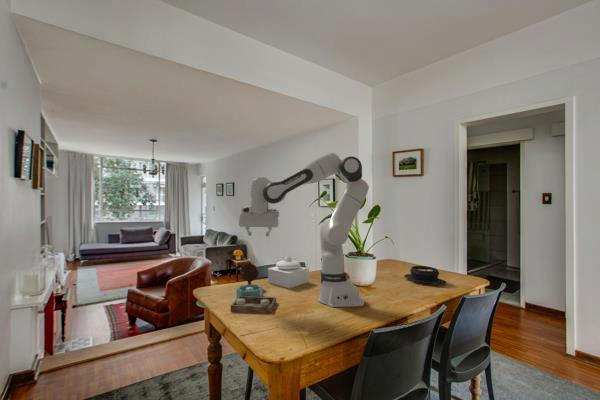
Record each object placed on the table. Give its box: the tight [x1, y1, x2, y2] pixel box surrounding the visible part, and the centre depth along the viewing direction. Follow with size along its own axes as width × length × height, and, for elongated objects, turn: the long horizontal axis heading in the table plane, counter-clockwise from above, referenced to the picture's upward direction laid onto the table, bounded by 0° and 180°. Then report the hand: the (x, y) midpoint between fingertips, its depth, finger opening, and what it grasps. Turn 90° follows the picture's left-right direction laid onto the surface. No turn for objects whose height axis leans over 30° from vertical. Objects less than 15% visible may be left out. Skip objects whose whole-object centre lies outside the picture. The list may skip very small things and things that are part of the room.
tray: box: [230, 296, 277, 314], centre depth 131 cm, size 18×13×3 cm
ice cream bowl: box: [239, 261, 260, 285], centre depth 161 cm, size 11×11×15 cm
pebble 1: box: [236, 298, 245, 305], centre depth 129 cm, size 4×4×4 cm
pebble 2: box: [261, 299, 269, 306], centre depth 128 cm, size 4×4×4 cm
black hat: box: [403, 265, 447, 285], centre depth 178 cm, size 25×19×8 cm
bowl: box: [236, 283, 263, 299], centre depth 146 cm, size 12×12×5 cm
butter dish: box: [267, 256, 310, 289], centre depth 173 cm, size 18×18×16 cm
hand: (258, 235), depth 148 cm, fingers open, 8 cm apart
